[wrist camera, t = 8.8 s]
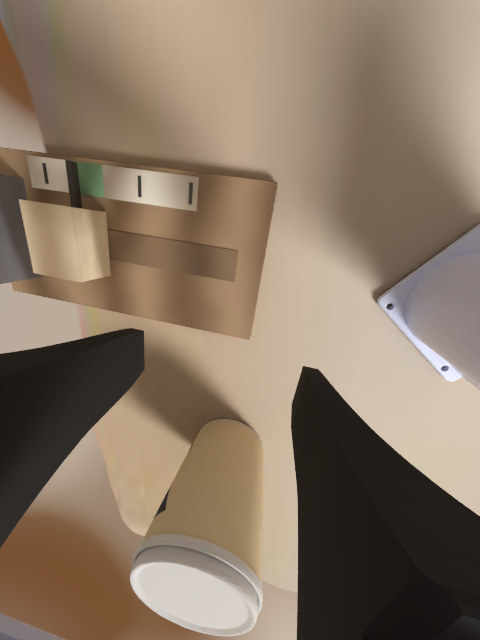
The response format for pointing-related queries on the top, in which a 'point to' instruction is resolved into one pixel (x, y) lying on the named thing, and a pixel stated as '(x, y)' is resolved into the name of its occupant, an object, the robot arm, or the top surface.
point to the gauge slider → (67, 236)
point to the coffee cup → (208, 536)
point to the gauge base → (148, 238)
